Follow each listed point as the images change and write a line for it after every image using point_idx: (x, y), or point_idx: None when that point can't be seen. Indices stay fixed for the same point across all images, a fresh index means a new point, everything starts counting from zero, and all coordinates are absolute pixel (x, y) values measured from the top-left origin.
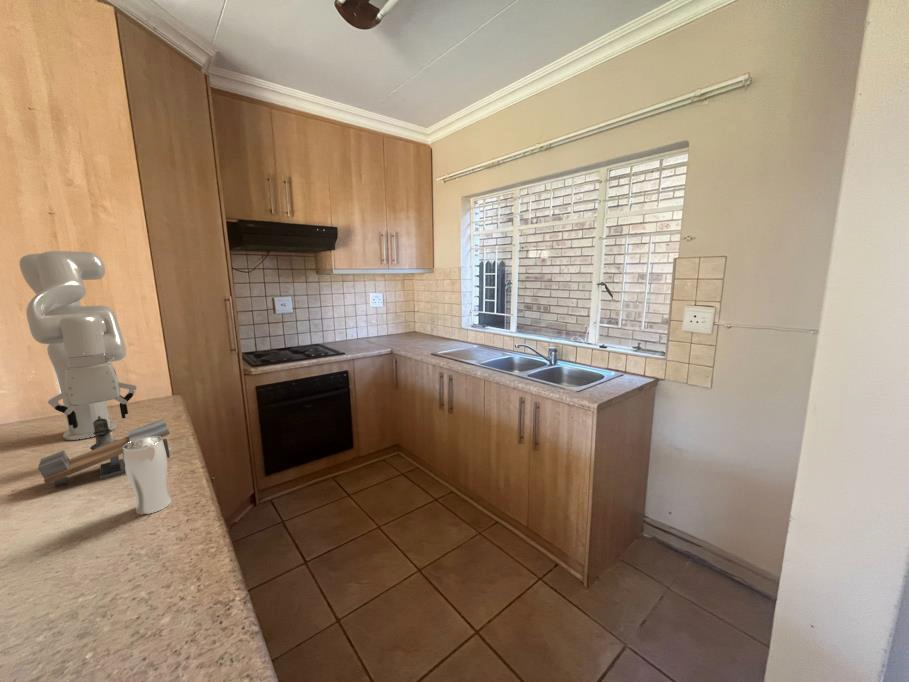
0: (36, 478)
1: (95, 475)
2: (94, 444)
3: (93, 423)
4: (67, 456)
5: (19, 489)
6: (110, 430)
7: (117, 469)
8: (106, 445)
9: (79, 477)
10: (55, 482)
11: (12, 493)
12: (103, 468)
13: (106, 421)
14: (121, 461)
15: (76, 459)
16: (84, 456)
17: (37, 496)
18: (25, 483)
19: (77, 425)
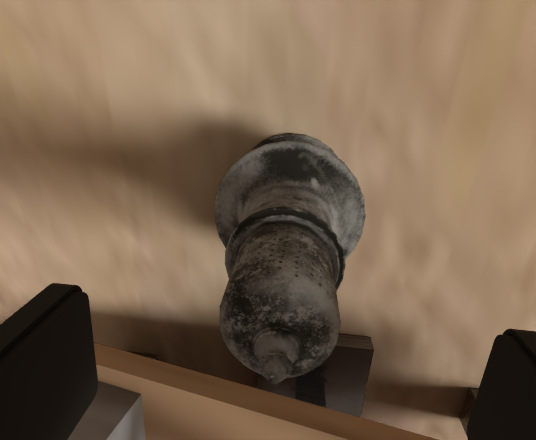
0: (39, 230)
1: (240, 378)
2: (236, 170)
3: (221, 333)
4: (125, 421)
5: (14, 298)
6: (340, 281)
7: None
8: (289, 433)
9: (191, 352)
10: None
11: (4, 316)
12: (267, 387)
13: (332, 347)
14: (332, 371)
15: (167, 423)
16: (196, 432)
17: None
18: (15, 253)
19: (88, 342)
